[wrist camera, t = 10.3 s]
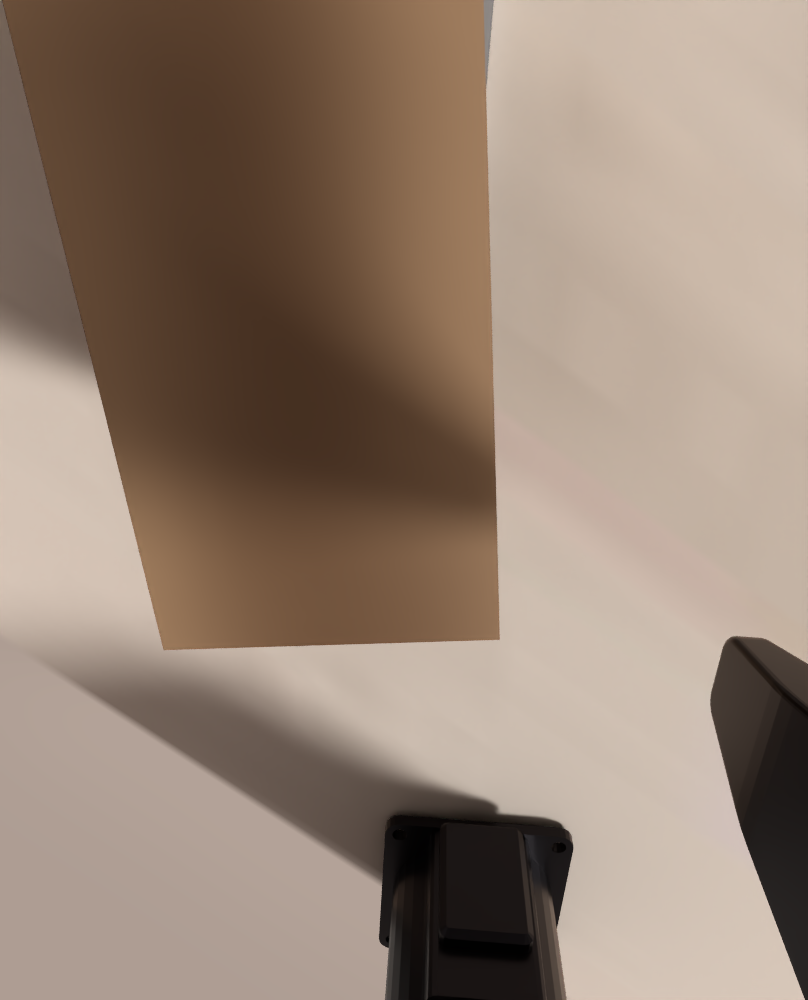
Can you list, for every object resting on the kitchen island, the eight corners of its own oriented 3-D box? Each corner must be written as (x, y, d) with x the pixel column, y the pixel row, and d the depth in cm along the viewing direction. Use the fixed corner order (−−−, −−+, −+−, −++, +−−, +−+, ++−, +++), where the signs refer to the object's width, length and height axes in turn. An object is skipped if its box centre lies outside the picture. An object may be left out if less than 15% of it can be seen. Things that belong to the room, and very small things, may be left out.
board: (456, -346, 12) (464, -770, 6) (483, 486, 18) (500, 639, 12) (110, -301, 12) (-163, -662, 7) (249, 497, 18) (163, 650, 13)
